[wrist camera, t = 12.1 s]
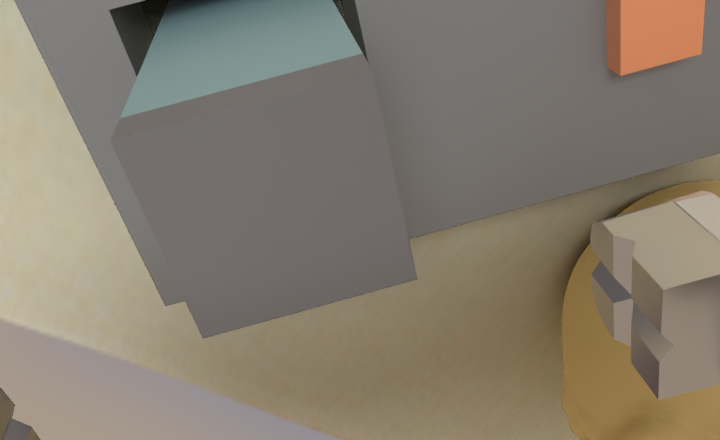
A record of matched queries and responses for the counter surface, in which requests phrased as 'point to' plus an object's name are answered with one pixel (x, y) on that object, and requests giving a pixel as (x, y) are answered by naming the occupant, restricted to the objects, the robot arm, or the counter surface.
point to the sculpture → (624, 365)
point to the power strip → (452, 96)
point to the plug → (263, 160)
